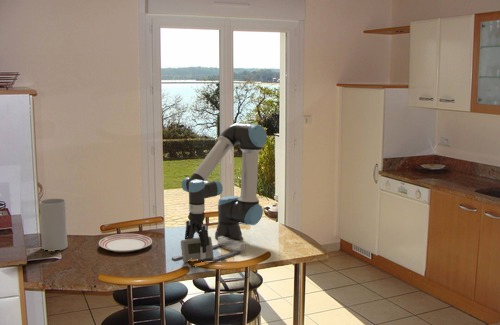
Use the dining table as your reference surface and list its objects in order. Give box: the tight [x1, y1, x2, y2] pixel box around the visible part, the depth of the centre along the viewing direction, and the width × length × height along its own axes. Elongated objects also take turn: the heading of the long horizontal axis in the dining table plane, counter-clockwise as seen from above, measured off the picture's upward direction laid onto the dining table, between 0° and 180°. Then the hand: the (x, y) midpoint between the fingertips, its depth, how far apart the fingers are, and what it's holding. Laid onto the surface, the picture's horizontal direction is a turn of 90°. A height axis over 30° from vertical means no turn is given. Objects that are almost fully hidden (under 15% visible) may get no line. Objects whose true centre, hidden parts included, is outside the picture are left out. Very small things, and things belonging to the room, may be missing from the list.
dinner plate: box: [98, 233, 153, 253], centre depth 294 cm, size 27×27×3 cm
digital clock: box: [180, 236, 215, 263], centre depth 275 cm, size 16×9×11 cm, turn 105°
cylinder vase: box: [39, 198, 68, 251], centre depth 288 cm, size 12×12×25 cm
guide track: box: [171, 236, 246, 269], centre depth 281 cm, size 17×34×5 cm, turn 136°
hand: (196, 256), depth 276 cm, fingers closed on digital clock, 8 cm apart
